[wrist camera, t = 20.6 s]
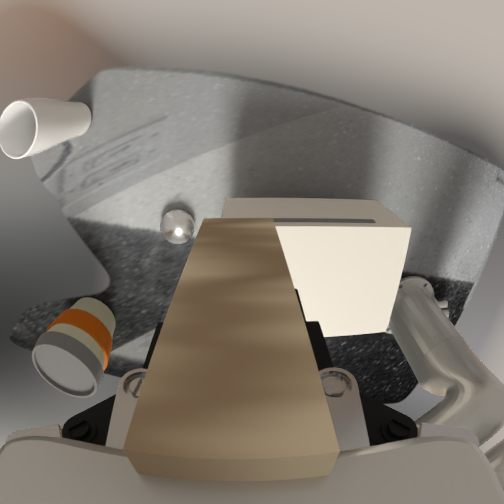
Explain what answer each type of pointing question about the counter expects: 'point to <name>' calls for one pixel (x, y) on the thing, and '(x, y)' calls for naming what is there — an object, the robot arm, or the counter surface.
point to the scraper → (233, 370)
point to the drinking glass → (40, 125)
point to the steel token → (177, 226)
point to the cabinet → (337, 257)
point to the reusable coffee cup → (76, 348)
